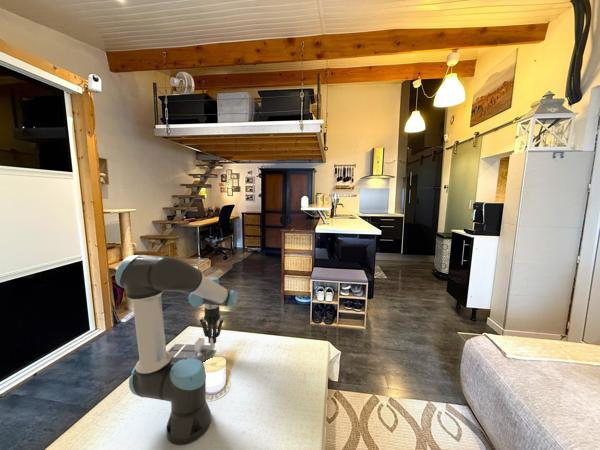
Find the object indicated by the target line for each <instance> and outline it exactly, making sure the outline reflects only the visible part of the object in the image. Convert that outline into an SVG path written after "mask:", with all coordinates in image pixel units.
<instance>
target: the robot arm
mask: <svg viewBox="0 0 600 450" xmlns="http://www.w3.org/2000/svg"><path fill="white" fill-rule="evenodd" d="M114 275H115V278H114V279H115V282H116V284H117V286H119V287H120V288H123V289H125V294H126V298H127V299H128V300H130V301H132V306H133V307H132V308H133V315H134V316H133V317H134V323H135V333H136V342H137V350H138V357H139V358H138V359H139V360H138V361H137V362H136V364H135V366H134V367H133V369H132V370H131V372H130V374H131V375H130V376H129V380H128V387H129V390H130V393H132V394H133V395H135V396H138V397H141V398H145V399H147V398H148V399H152V400H160V401H165V402H170V407H171V409H170V411H171V412H170V413H169V417H168V421H167V424H166V428H165V430H166V434H165V435H166V439H167V440H168V441H169V443H171V444H172V445H173V444H174V445H178V446H181V445H183V446H184V445H188V444H191V443H193V442H195V441H197V440H198V439H200V438H201V437H202V436H204V434H205V433H206V432H207V431H208V429H209V428H210V425H211V423H212V413H211V409H210V407H209V404H208V402H207V400H206V399H207V397H206V396H207V395H206V394H207V393H206V391H207V390H206V389H207V387H206V385H207V384H206V379H207V373H206V367H205V363H202V362H201V361H199V360H197V359H193V358H187V359H186V360H185V359H183V360H180V361H178V362H172V358H171V353H170V352H168V350H167V345H166V344H167V343H166V336H165V324H164V323H165V322H164V316H163V315H164V314H163V313H164V312H163V305H162V304H163V303H162V302H163V301H162V294H163V293H164V292H180V293H183V294H189V295H188V302H189V303H188V304H190V306H192V307H195V308H198V307H200V306H202V305H203V306H204V316H203V317H202V318H201V319H199V322H200V324H201V327H202V330H203V335H204V338H205V337H206V338H208V339H207V340H208V342H207V343H208V344H209V345H210V350H213V351H214V349H215V348H216V345H215V344H216V343H217V338H219V336H221V331H222V327H223V323H224V321H225V318H224V317H223V318H222V317H221V314H220V307H228V308H229V307H235V306H236V304H237V303H238V298H239V293H238V291H237V290H233V289H228V288H226V287H224V286H222V285H220V279H219V278H218V277H216V276H215V277H214V276H212V277H210V276H209V277H206V275H203V273H202V271H201V270H200V269H199V268H197V267H196V266H194V265H192V264H190V263H188V262H186V261H184V260H182V259H179V258H177V257H174V256H167V255H165V256H164V255H147V254H136V255H134V254H133V255H129V256H127V257H125V258H124V259H123V260H122V261H121V263H120V264H119V265H118V267H117V269H116V272H115V274H114ZM217 323H218V325H217ZM217 326H218V327H217Z"/></svg>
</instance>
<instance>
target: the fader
mask: <svg viewBox="0 0 600 450" xmlns="http://www.w3.org/2000/svg"><path fill="white" fill-rule="evenodd" d="M194 345H195V354H198V353H200V352H202V351H203V350H204V345H205V337H198V338H197V340H196V341H195V342H194Z"/></svg>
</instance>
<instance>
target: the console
mask: <svg viewBox="0 0 600 450" xmlns="http://www.w3.org/2000/svg"><path fill="white" fill-rule="evenodd" d="M167 351H168V352H170V353H171V358H172V363H176V362H178V361H180V360H183V359H185V360H186V359H187V358H193V359H197V360H199V361H201V362H202V363H203V362H204V361H205V360H206V361H207V359H208V358H209V357H210V355H211V353H213V351H214V349H213V350H210V344H204V350H203V351H202V352H200V353H198V354H195V344H186V343H185V344H184V343H183V344H182V343H175V344H174V345H173V346H171V347H170V348H169V349H168V350H167ZM206 361H205V362H206ZM203 364H204V363H203Z"/></svg>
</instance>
